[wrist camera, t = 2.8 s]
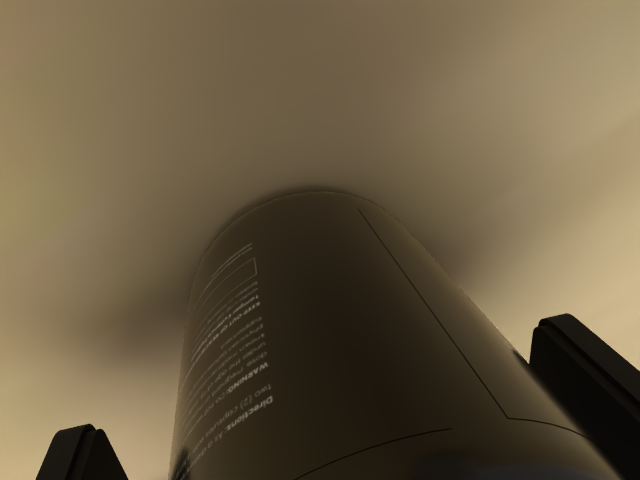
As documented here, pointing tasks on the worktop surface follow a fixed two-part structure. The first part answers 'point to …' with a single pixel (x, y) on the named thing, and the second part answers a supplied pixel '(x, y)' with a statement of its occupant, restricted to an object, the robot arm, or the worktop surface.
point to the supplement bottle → (356, 362)
